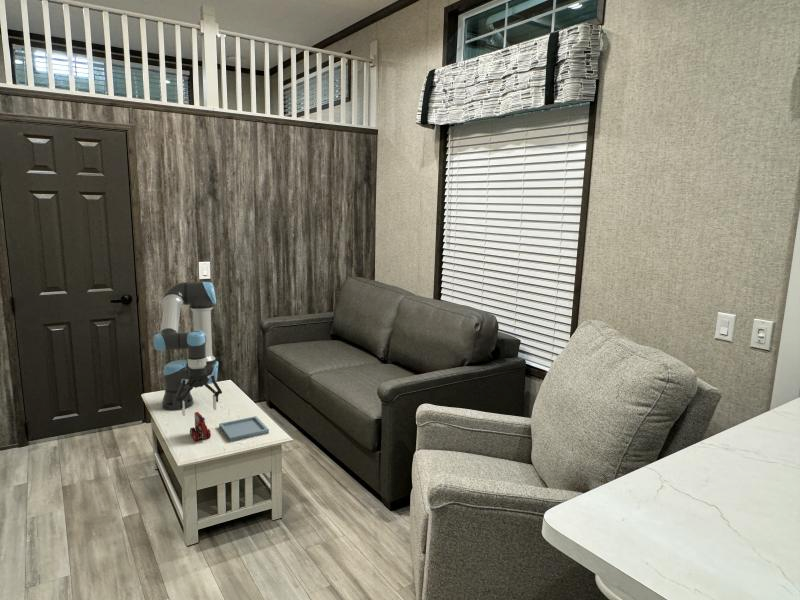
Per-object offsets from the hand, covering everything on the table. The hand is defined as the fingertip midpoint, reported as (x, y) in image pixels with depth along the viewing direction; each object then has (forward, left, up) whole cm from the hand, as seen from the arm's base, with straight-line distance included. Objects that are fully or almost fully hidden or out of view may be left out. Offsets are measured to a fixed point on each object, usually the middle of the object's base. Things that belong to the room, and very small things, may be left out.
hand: (199, 411), depth 242 cm
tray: (+3, +19, -12) cm, 23 cm away
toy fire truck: (0, 0, -13) cm, 13 cm away
